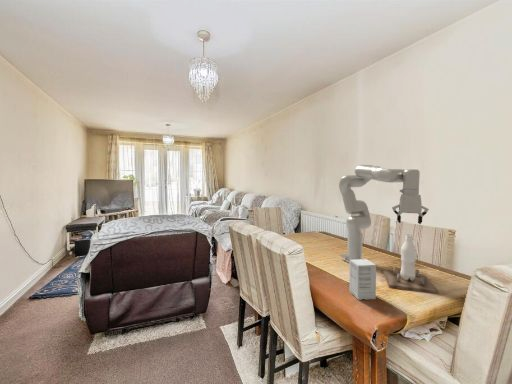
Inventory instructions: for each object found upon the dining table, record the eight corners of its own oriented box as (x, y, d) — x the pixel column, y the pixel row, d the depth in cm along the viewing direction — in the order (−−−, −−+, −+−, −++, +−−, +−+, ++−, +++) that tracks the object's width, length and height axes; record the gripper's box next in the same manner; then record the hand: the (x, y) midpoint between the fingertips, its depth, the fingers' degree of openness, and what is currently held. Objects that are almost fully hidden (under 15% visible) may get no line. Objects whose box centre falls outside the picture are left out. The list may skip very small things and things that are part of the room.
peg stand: (389, 287, 134) (389, 277, 133) (383, 272, 154) (383, 263, 154) (438, 293, 126) (438, 283, 126) (425, 277, 147) (425, 267, 146)
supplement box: (376, 299, 121) (377, 265, 120) (357, 300, 120) (358, 265, 119) (365, 290, 130) (366, 258, 129) (348, 291, 130) (349, 259, 129)
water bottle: (397, 276, 144) (398, 233, 142) (409, 276, 144) (410, 233, 143) (405, 282, 136) (407, 236, 135) (418, 281, 137) (419, 236, 136)
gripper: (393, 192, 137) (392, 223, 138) (431, 193, 131) (429, 225, 132) (391, 191, 144) (390, 220, 145) (427, 192, 138) (425, 222, 139)
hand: (409, 223), depth 138 cm, fingers open, 9 cm apart
